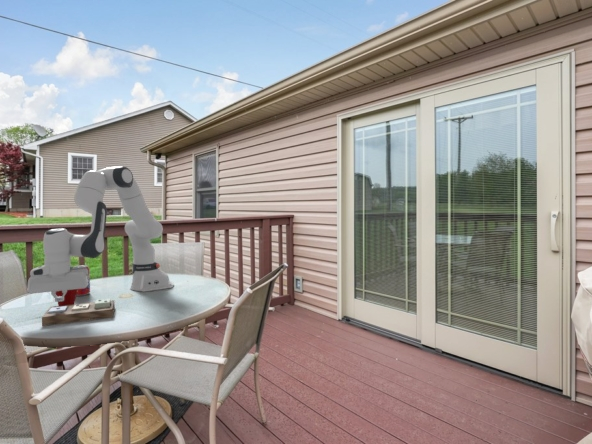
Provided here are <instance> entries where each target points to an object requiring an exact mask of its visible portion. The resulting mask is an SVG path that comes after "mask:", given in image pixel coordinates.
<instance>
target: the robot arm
mask: <svg viewBox="0 0 592 444" xmlns="http://www.w3.org/2000/svg"><path fill="white" fill-rule="evenodd" d="M112 190H113V191H114V190H116V191H117V194H118V195H117V196H118V198H119V200H120V202H121V205H122V208H123V210H124V213H125V214H126V215H127V216H128V217H129V218H130V220H128V221H126V223H125V225H124V232H125V234H126V235H127V236H128V238H129V241H130V244H131V248H132V265H131V272H132V279H131V280H132V281H131V285H130V290H132V291H137V292H138V291H139V292H143V293H144V292H151V291H158V290H159V291H160V290H167V289H172V288H173V287H174V282H173V281H170V277H169V275H168V274H167V273H166V272H165V271H163V270H161V269H160V267H161V265H160V263H158V262H156V261H155V260H156V259H155V256H156V255H155V248H154V246H153V244H152V243H151V240H154V239H158V238H160V237H161V236H162V234H163V232H164V229H163V227H164V226H163V225H162V223H161V222H160V221H158V219H156V218H155V216H154V215H153V214H152V212H151V211H150V209H149V208H148V205H147V204H146V202H145V198H144V196H143V194H142V190H141V188H140V186H139V185H138V183H137V181H136V180H135V178H134V175H133V172H132V171H131V170H130V168H128V167H127V166H123V165H121V166H120V165H118V166H111V167H110V166H109V167H106V168H101V169H97V170H93V169H92V170H88V171H86V172H84V174H83V175H82V177H81V179H80V181H79V182H78V185H77V188H76V189H75V193H74V197H73V200H74V203H75V205H76V206H77V207H78V208H79V209H81V210H82V211H84V212H87V213H88V214H91V217H92V219H91V224H90V225H91V226H90V232H89V233H87V234H75V233H73V232H70V231H68V229H66V228H65V227H64V228H63V227H59V228H58V227H57V228H51V229H48V230H46V231H45V233H44V235H43V241H42V242H43V243H42V245H43V246H42V247H43V250H42V251H43V254H44V260H43V263H44V264H43V265H39V266H36V267H34V268H33V269H31V270H30V271H29V275H30V277H29V278H28V281H27V289H26V290H27V293H28V294H30V295H31V294H32V295H33V294H41V293H42V294H43V293H44V294H45V293H50V294H51V296H52V297H53V298H54V302H55V303H58V302H59V301H64V296H65V294H66V293H67V290H73V289H83V288H86V287H87V286H88V279H87V275H88V269H87V268H85V267H83V266H80V267H74V266H72V262H71V257H75V258H88V259H89V258H90V259H95V258H98V257H99V256H100V255H101V254H102V253H103V252H104V251H105V248H106V242H105V235H106V225H107V214H108V213H107V212H108V211H107V208H108V207H107V205H106V204H105V203H104V196H105V192H106V191H112ZM84 268H85V269H84ZM56 291H62V293H64V294H63V295H62V296H59V297H58V296H57V295H56V294H55V293H56Z"/></svg>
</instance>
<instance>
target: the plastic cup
mask: <svg viewBox="0 0 592 444" xmlns="http://www.w3.org/2000/svg"><path fill="white" fill-rule="evenodd" d="M76 293H77V289H73V290H67V293H66V294H65V296H64V301H59V302H57V304H58V305H57V306H63V305H73V304H76V303H75V302H76V298H77V296H76ZM55 294H56V295H57V296H58V297H59V296H62V295H63V294H64V293H62V291H56V293H55Z"/></svg>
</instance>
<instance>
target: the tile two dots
mask: <svg viewBox="0 0 592 444" xmlns="http://www.w3.org/2000/svg"><path fill="white" fill-rule="evenodd" d="M111 301H112V299H111V298H106V299H95V301H94V302H95V308H104V307H110V306H111Z"/></svg>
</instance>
